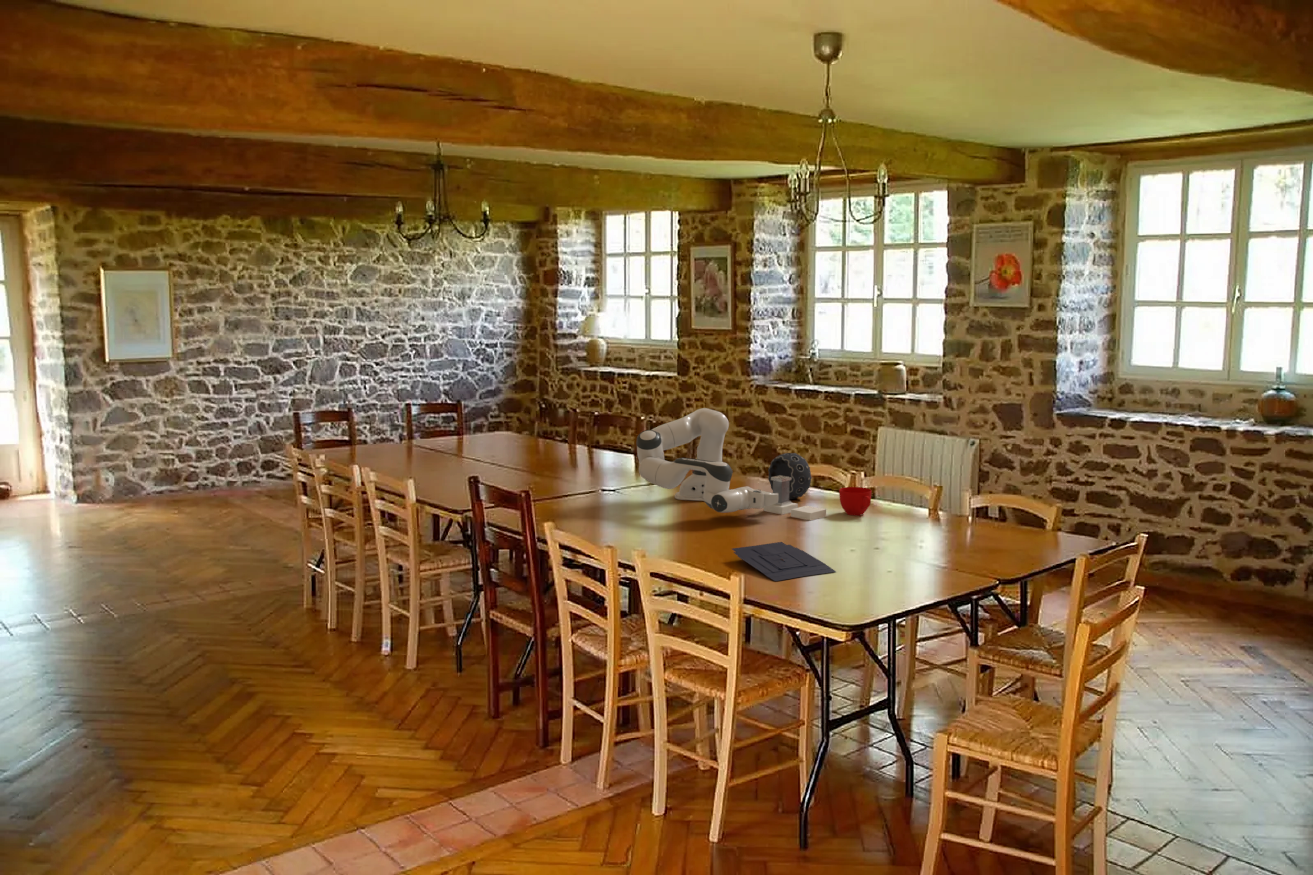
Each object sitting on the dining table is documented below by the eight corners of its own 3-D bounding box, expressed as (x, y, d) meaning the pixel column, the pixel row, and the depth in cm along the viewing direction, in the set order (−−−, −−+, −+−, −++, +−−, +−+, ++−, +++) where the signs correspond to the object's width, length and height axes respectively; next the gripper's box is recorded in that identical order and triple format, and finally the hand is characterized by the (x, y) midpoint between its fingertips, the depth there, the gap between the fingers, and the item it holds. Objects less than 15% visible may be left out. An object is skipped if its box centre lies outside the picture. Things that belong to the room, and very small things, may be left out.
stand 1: (782, 514, 428) (782, 507, 428) (763, 510, 435) (763, 503, 435) (797, 510, 435) (797, 503, 435) (779, 507, 442) (779, 500, 442)
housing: (781, 505, 431) (782, 479, 429) (770, 503, 435) (770, 477, 433) (791, 503, 435) (791, 477, 433) (780, 501, 439) (780, 475, 437)
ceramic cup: (855, 520, 417) (855, 495, 415) (832, 512, 432) (833, 488, 431) (882, 517, 422) (883, 493, 420) (859, 509, 437) (860, 485, 436)
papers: (785, 548, 369) (786, 538, 368) (836, 579, 343) (837, 569, 342) (725, 556, 358) (726, 546, 357) (773, 589, 332) (774, 578, 331)
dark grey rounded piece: (785, 493, 472) (785, 449, 469) (813, 501, 455) (814, 455, 452) (765, 495, 466) (766, 451, 463) (793, 503, 449) (794, 457, 446)
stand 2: (810, 520, 417) (810, 513, 417) (790, 516, 424) (791, 509, 424) (826, 516, 424) (826, 509, 424) (806, 512, 431) (806, 505, 431)
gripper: (726, 501, 427) (749, 497, 436) (764, 509, 412) (787, 504, 421) (726, 486, 426) (749, 482, 435) (764, 493, 411) (787, 488, 420)
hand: (768, 493), depth 428 cm, fingers open, 8 cm apart
